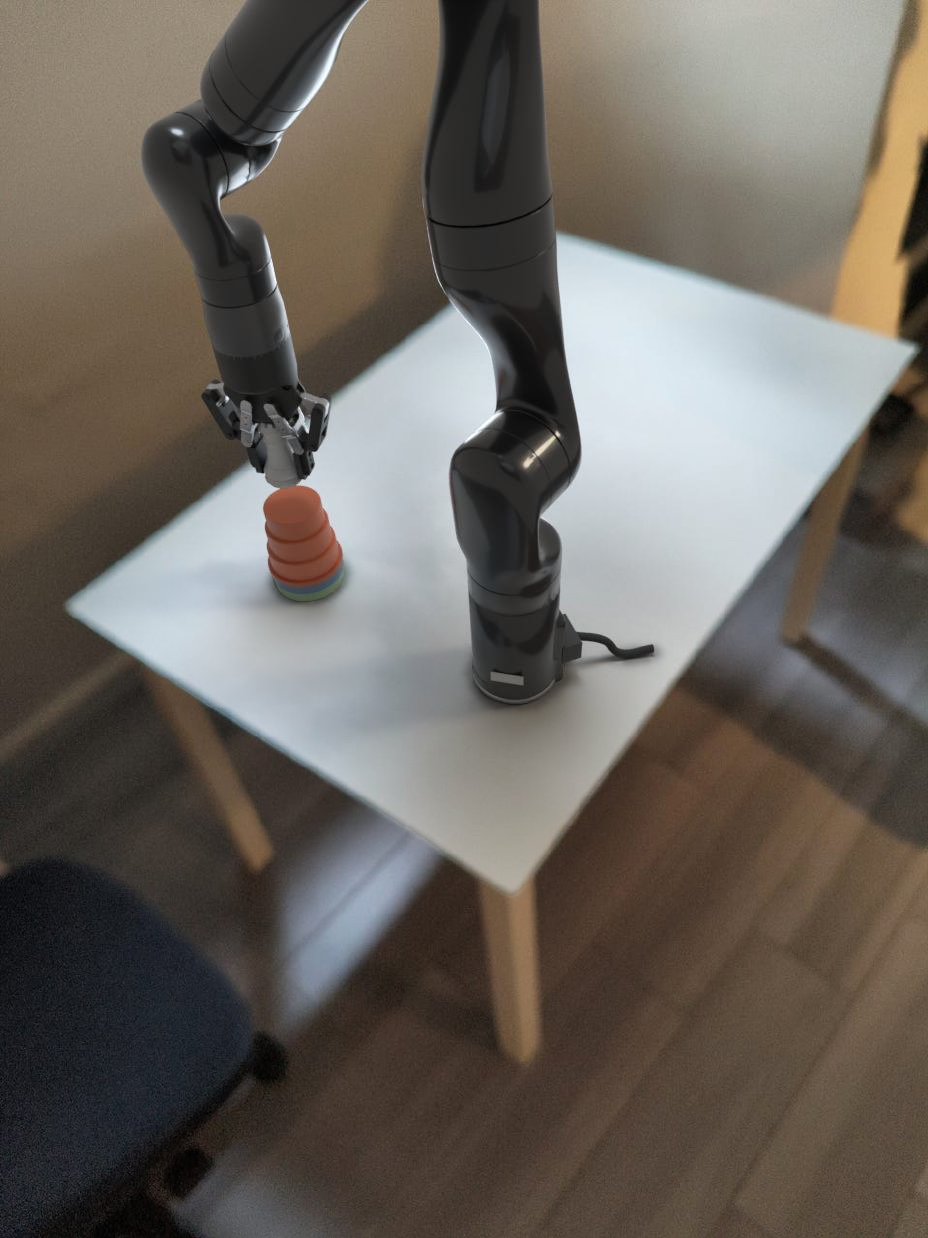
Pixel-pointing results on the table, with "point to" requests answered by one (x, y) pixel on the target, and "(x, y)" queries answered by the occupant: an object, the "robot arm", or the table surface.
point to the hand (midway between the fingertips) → (284, 470)
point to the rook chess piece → (278, 458)
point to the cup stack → (301, 544)
